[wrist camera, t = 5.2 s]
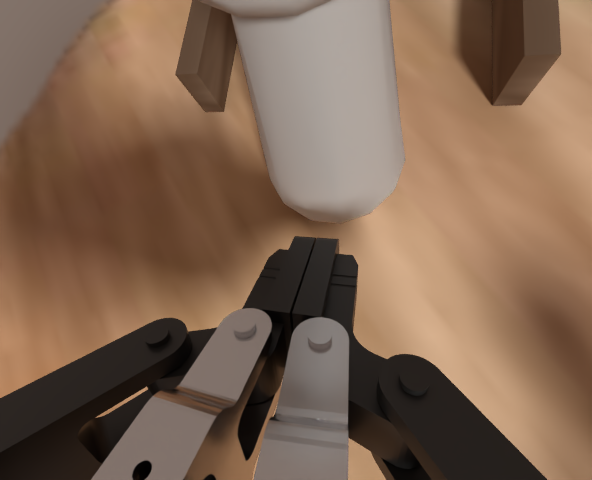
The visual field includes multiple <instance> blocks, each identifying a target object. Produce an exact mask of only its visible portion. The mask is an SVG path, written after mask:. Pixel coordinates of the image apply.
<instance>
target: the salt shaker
mask: <svg viewBox="0 0 592 480" xmlns="http://www.w3.org/2000/svg"><path fill="white" fill-rule="evenodd" d="M199 1H200V2H202V3H205V4H207V5H210V6H212V7H215V8H217V9H220V10H222V11H225V12H227V13H230V14H231V16H232V20H233V25H234V29H235V33H236V37H237V42H238V46H239V50H240V54H241V59H242V63H243V67H244V71H245V75H246V80H247V84H248V88H249V92H250V97H251V101H252V105H253V109H254V114H255V118H256V122H257V126H258V130H259V135H260V139H261V143H262V147H263V152H264V156H265V160H266V164H267V169H268V173H269V177H270V180H271V182H272V184H273V186H274V187H275V189H276V191H277V193H278V194H279V196H280V198H281V199H282V201H283V203H284V204H286V205H287V206H289V207H290V208H292V209H293V210H295V211H297V212H298V213H300V214H302V215H303V216H305V217H306V218H308V219H310V220H311V221H320V222H330V223H340V224H341V223H344V222H347V221H350V220H353V219H356V218H359V217H362V216H365V215H367V214H370V213H371V212H372V211H373V210H374V209H375V208H376V207H377V206H378V205H380V204H381V203H382V202H383V201H384V200H385V199H386V198H387V197H388V196H389V195H390V194H391V193H392V192H393V191H394V189H395V188H396V185H397V182H398V179H399V176H400V174H401V171H402V168H403V165H404V162H405V153H404V145H403V138H402V130H401V122H400V112H399V101H398V90H397V79H396V68H395V57H394V47H393V36H392V25H391V14H390V3H389V0H199Z"/></svg>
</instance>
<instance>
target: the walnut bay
mask: <svg viewBox="0 0 592 480" xmlns="http://www.w3.org/2000/svg"><path fill="white" fill-rule="evenodd" d="M236 43H237V37H236V33H235V29H234V25H233V20H232V16H231V14H230V13H227V12H225V11H222V10H220V9H217V8H215V7H212V6H210V5H207V4H205V3H202V2H200V1H199V0H192V4H191V9H190V13H189V17H188V22H187V26H186V31H185V35H184V39H183V44H182V48H181V52H180V57H179V61H178V66H177V70H176V74H175V75H176V76H177V77H178V79H179V80H180V81H181V82H182V84H183V85H184V86H185V87H186V89H187V90H188V91H189V92H190V94H191V95H192V96H193V97H194V99H195V100H196V101H197V103H198V104H199V105H200V106H201V108H202V109H203V110H204V111H205V112H224V107H225V102H226V97H227V91H228V86H229V81H230V75H231V70H232V65H233V59H234V54H235V49H236ZM560 55H561V42H560V24H559V7H558V0H492V78H493V106H500V105H522V103H523V102H524V101H525V100H526V98H527V97H528V96H529V94H530V93H531V92H532V91H533V89H534V88H535V87H536V86H537V84H538V83H539V82H540V80H541V79H542V78H543V77H544V75H545V74H546V73H547V71H548V70H549V69H550V68H551V66H552V65H553V64H554V62H555V61H556V60H557V59H558V57H559V56H560Z"/></svg>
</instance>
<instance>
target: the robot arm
mask: <svg viewBox="0 0 592 480" xmlns="http://www.w3.org/2000/svg"><path fill="white" fill-rule="evenodd" d="M357 277H358V264H357V262H356V260H355V258H354V257H353V255H344V254H339V239H327V238H317V239H316V238H312V237H298V236H295V237H294V239H293V241H292V243H291V246H290V248H289V250H282V249H279V250H278V251H276V252H275V253H274V254H273V255H271V256H270V257H269V258H268V260H267V262H266V264H265V266H264V270H262V272H261V274H260V276H259V278H258V280H257V281H256V283H255V285H254V287H253V289H252V291H251V293H250V295H249V297H248V299H247V301H246V303H245V305H244V307H243V308H242V309H240V310H237V311H235V312H233V313H231V314H229V315H228V316H227V317H225V318H224V319H223V321H222V322H221V323H220V325H219V326H218V327H217V328H212V329H205V330H198V331H190V332H188V331H187V328H186V326H185V324H184V323H183V322H182V321H181V320H178V319H175V318H164V319H159V320H156V321H153V322H151V323H149V324H147V325H145V326H143V327H141V328H139V329H137V330H135V331H133V332H131V333H129V334H127V335H125V336H123V337H121V338H119V339H117V340H115V341H113V342H111V343H109V344H107V345H105V346H103V347H101V348H99V349H97V350H95V351H93V352H92V353H90V354H88V355H86V356H84V357H82V358H80V359H78V360H76V361H74V362H72V363H70V364H68V365H66V366H64V367H62V368H60V369H58V370H56V371H54V372H52V373H50V374H48V375H46V376H44V377H42V378H40V379H38V380H36V381H34V382H32V383H30V384H28V385H26V386H24V387H22V388H20V389H18V390H16V391H14V392H12V393H10V394H8V395H6V396H4V397H2V398H0V480H252V478H253V471H254V467H255V463H256V460H257V457H258V455H259V458H258V462H257V467H256V471H255V476H254V480H348V437H349V438H350V439H352V440H353V441H355V442H357V443H358V444H360V445H362V446H363V447H365V448H366V449H368V450H370V451H371V453H372V456H373V458H374V460H375V461H376V463H377V465H378V466H379V468H380V470H381V471H382V473H383V475H384V476H385V478H386V480H547V479H546V478H545V477H544V476H543V475H542V474H541V473H540V472H539V471H538V470H537V469H536V468H535V467H534V466H533V465H532V463H531V462H530V461H529V460H528V459H527V458H526V457H525V456H524V455H523V454H522V453H521V452H520V451H519V450H518V449H517V448H516V447H515V446H514V445H513V444H512V443H511V442H510V441H509V440H508V439H507V438H506V437H505V436H504V435H503V434H502V433H501V432H500V431H499V430H498V429H497V428H496V427H495V426H494V425H493V424H492V423H491V422H490V421H489V420H488V419H487V418H486V417H485V416H484V415H483V414H482V413H481V412H480V411H479V410H478V409H477V408H476V407H475V405H474V404H473V403H472V402H471V401H470V400H469V399H468V398H467V397H466V396H465V395H464V394H463V393H462V392H461V391H460V390H459V389H458V388H457V387H456V386H455V385H454V384H453V383H452V382H451V381H450V380H449V379H448V378H447V377H446V376H445V375H444V374H443V373H442V372H441V371H440V370H439V369H438V368H437V367H436V366H435V365H434V364H432V363H431V362H429V361H427V360H426V359H424V358H421V357H419V356H415V355H410V354H400V355H395V356H392V357H390V358H389V359H385V358H383V357H380V356H378V355H376V354H374V353H372V352H370V351H368V350H367V349H365V348H364V347H363V346H362V345H361V344H360V343H359V342H358V341H357V340H356V338H355V336H354V334H353V326H354V316H355V306H356V294H357ZM283 375H284V376H283ZM282 379H283V380H282ZM281 382H282V385H281ZM146 386H147V387H148V390H147V391H145V392H143V393H142V394H140V395H138V396H137V397H135V398H133V399H132V400H130V401H128V402H127V403H125V404H124V405H122V406H120V407H119V408H117V409H115V410H114V411H112V412H110V413H109V414H107V415H105V416H102V417H98V418H95V417H97V416H98V415H100V414H102V413H103V412H105V411H107V410H108V409H110V408H112V407H113V406H115V405H117V404H118V403H120V402H121V401H123V400H125V399H126V398H128V397H130V396H131V395H133V394H135V393H136V392H138V391H140V390H141V389H143V388H145V387H146ZM277 403H278V404H277ZM276 406H277V409H276V412H275V415H274V416H273V414H274V411H275V408H276ZM259 452H260V454H259Z"/></svg>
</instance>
